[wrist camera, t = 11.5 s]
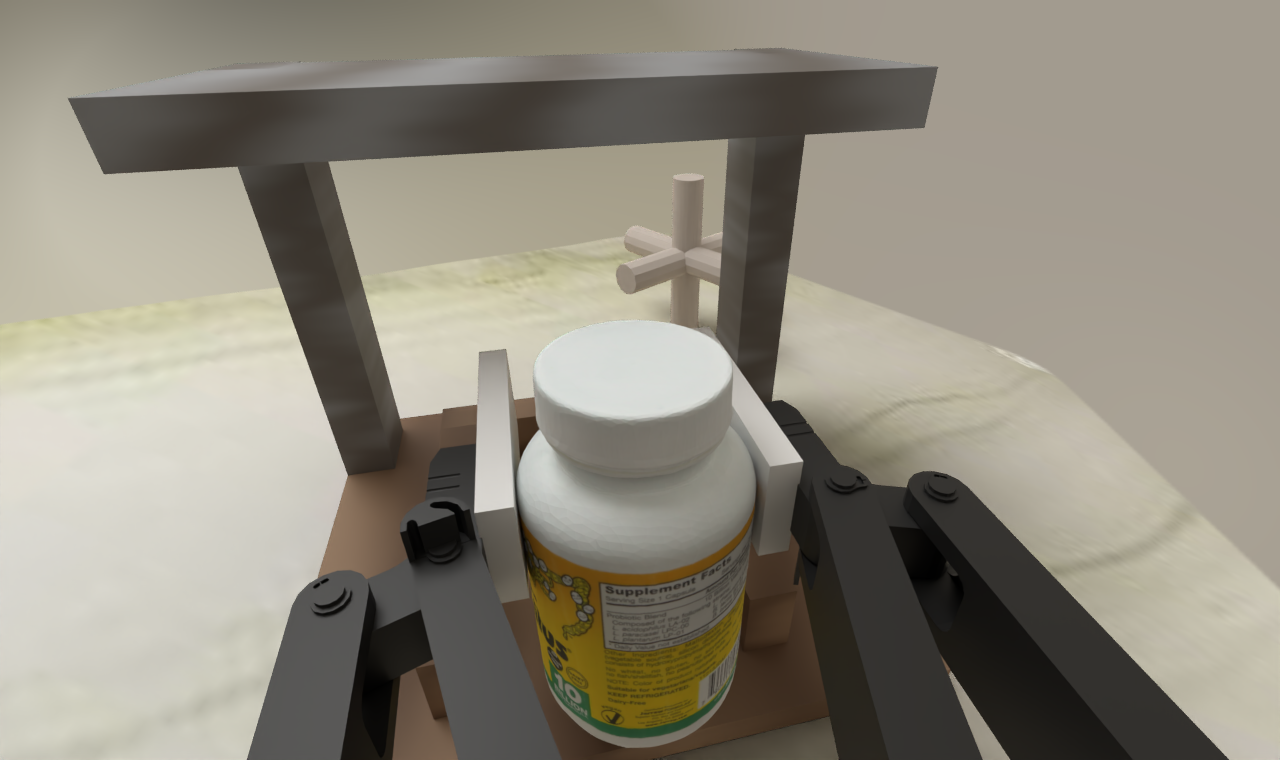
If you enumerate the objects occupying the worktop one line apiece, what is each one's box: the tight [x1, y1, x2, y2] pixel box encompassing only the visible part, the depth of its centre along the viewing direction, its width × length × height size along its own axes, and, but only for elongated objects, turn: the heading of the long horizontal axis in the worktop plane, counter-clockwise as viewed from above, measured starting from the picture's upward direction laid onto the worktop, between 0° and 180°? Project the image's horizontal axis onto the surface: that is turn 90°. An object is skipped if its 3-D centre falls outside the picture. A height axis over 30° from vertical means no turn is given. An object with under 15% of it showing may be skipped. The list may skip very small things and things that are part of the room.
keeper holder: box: [68, 48, 951, 760], centre depth 20 cm, size 20×18×17 cm
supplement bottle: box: [516, 320, 756, 748], centre depth 14 cm, size 5×5×10 cm
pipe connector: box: [616, 174, 723, 328], centre depth 38 cm, size 10×10×10 cm
